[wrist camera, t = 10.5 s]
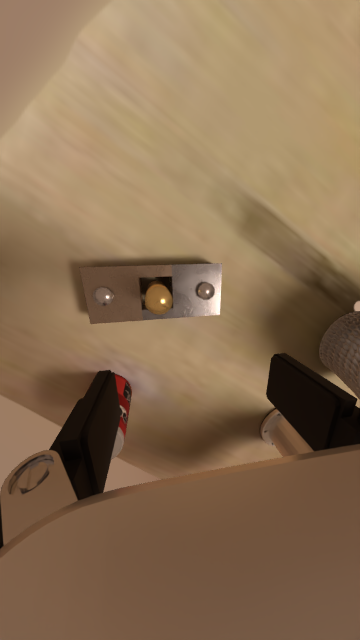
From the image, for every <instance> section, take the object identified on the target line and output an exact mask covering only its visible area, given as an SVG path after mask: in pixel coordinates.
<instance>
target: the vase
mask: <svg viewBox="0 0 360 640" xmlns="http://www.w3.org/2000/svg"><path fill="white" fill-rule="evenodd" d="M319 355H320V359H321V361H322V363H323V364H324V365H325V366H326V367H327V368H329V369H330V370H331V371H332V372H334V373H335V374H336V375H337V376H338V377H339V378H340V379H341V380H342V381H343V382H344V383H345V384H346V385H347V386H348V387H349V388H350V389H351V390H352V391H353V392H354V393H355V395H356V396H357V397H358V398H359V399H360V311H356V312H351V313H348V314H346V315H344V316H342V317H340V318H339V319H337V320H336V321H335V322H334V323H333V324H332V325H331V326H330V327H329V328H328V329H327V331H326V332H325V334H324V336H323V338H322V340H321V343H320V348H319Z"/></svg>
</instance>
